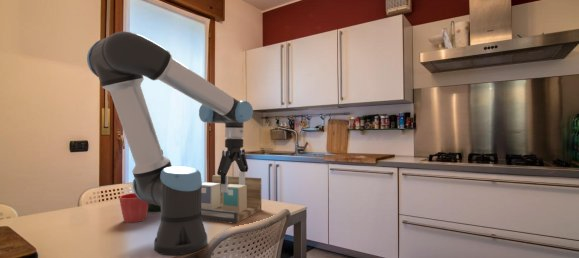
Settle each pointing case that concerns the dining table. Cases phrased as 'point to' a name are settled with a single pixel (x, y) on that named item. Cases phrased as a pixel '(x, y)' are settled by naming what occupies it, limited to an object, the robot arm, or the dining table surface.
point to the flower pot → (133, 208)
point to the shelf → (235, 217)
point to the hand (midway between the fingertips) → (233, 189)
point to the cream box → (210, 195)
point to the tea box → (235, 198)
